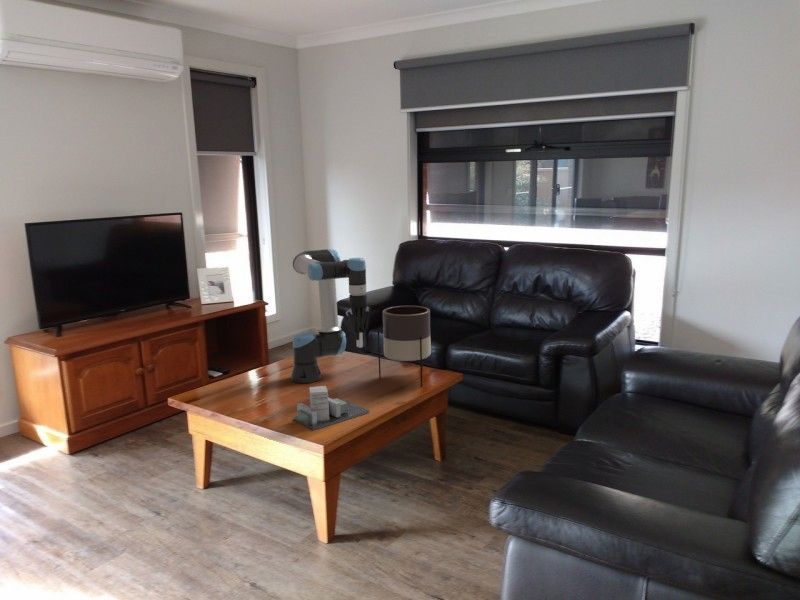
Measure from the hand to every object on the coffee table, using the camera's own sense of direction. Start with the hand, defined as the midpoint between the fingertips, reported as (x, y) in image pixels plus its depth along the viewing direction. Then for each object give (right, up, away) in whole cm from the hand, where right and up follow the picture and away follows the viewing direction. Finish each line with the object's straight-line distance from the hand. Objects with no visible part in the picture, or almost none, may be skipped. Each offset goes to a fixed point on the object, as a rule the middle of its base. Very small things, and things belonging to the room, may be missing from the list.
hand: (359, 346), depth 265 cm
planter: (+23, -19, +37) cm, 48 cm away
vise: (-11, -29, -8) cm, 32 cm away
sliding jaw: (-10, -27, -7) cm, 30 cm away
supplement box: (-16, -29, -13) cm, 35 cm away
